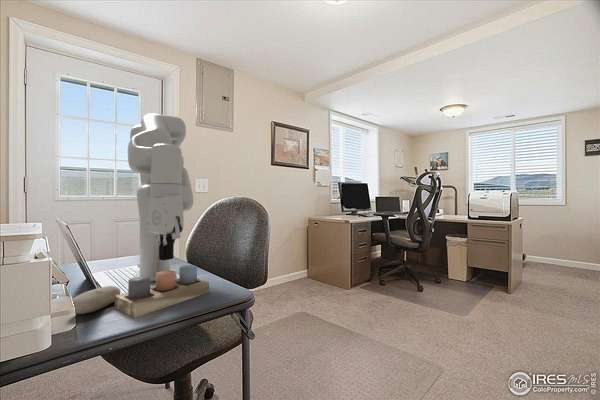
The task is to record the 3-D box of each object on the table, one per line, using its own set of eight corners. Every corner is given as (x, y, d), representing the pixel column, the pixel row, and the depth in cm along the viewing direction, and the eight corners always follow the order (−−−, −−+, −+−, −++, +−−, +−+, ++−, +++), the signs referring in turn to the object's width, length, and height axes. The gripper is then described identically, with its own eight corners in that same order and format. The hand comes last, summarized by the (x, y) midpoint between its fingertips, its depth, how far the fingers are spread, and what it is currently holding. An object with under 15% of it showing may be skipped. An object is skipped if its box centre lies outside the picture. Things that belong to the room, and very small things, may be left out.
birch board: (114, 307, 72) (114, 295, 71) (188, 285, 89) (188, 276, 89) (135, 317, 66) (135, 305, 66) (209, 292, 84) (209, 282, 84)
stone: (129, 290, 77) (93, 292, 65) (117, 313, 75) (78, 319, 64) (112, 281, 78) (74, 282, 66) (100, 304, 77) (59, 308, 65)
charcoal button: (124, 295, 71) (124, 279, 71) (143, 290, 75) (144, 275, 75) (134, 299, 68) (134, 283, 68) (154, 294, 72) (154, 278, 72)
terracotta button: (152, 287, 77) (152, 273, 77) (168, 283, 81) (168, 269, 81) (162, 291, 74) (162, 276, 74) (179, 286, 78) (179, 272, 78)
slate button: (175, 281, 83) (175, 267, 83) (190, 277, 87) (190, 264, 87) (186, 284, 80) (186, 270, 80) (200, 280, 84) (200, 266, 84)
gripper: (137, 191, 78) (137, 258, 78) (169, 190, 69) (169, 265, 69) (163, 191, 84) (163, 254, 84) (196, 191, 76) (195, 260, 76)
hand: (166, 259), depth 77 cm, fingers closed
